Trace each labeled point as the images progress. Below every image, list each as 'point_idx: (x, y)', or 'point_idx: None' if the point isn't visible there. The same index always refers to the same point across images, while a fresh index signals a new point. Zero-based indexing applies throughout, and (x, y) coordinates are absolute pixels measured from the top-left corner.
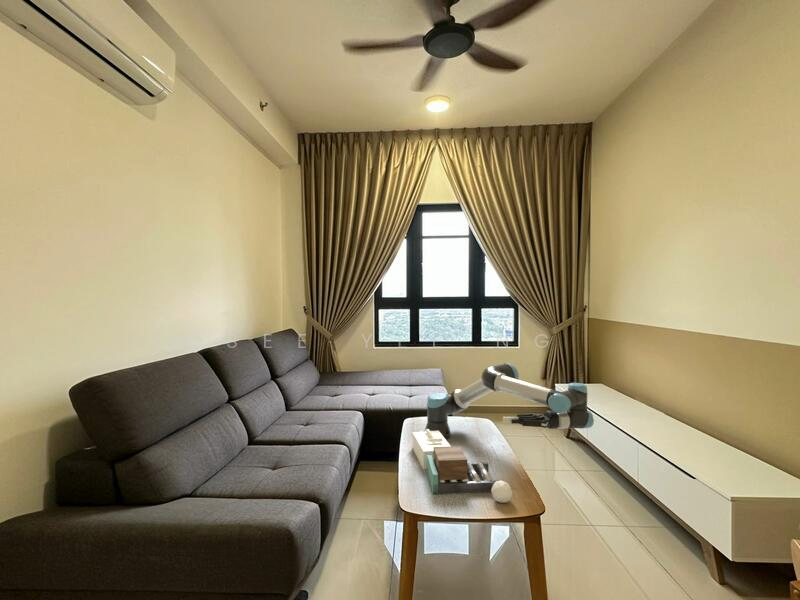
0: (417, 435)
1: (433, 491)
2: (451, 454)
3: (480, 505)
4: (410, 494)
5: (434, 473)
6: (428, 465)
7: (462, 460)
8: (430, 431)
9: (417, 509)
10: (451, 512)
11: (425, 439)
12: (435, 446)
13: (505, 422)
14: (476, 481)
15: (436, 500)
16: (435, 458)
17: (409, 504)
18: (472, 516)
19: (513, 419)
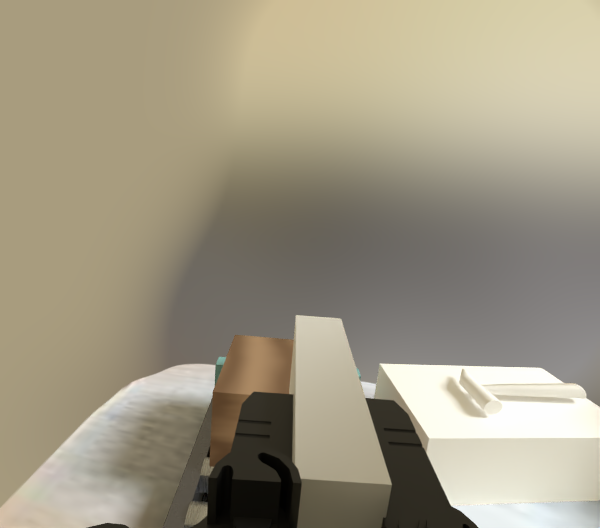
0: (519, 373)
1: None
2: (277, 365)
3: (75, 519)
4: None
5: (224, 360)
6: None
7: (217, 381)
8: (565, 392)
9: (161, 374)
10: (102, 426)
11: (493, 383)
12: (436, 394)
13: (290, 380)
14: (186, 503)
15: (181, 410)
16: None
17: (189, 367)
18: (36, 471)
19: (284, 415)
